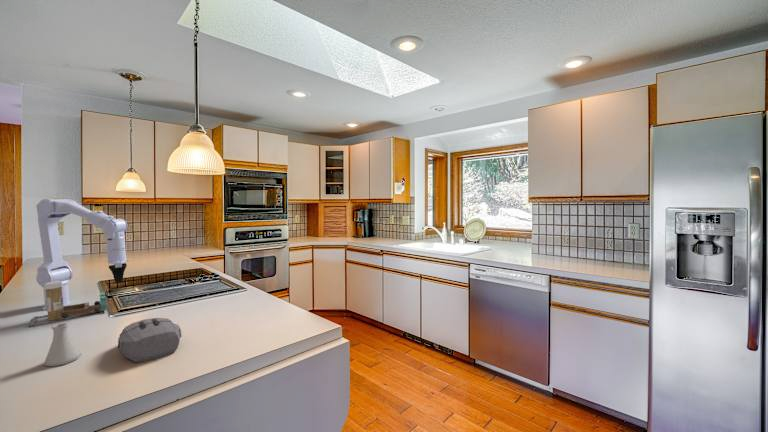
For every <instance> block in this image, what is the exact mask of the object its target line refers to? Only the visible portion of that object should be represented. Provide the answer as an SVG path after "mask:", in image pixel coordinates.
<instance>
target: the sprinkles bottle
mask: <svg viewBox="0 0 768 432" xmlns="http://www.w3.org/2000/svg"><path fill="white" fill-rule="evenodd" d="M45 289H46V302H47V310H46V311H47V315H48V317H47V320H49V321H55V320H61V319H62V318H61V317H60V312H64V310H63V308H64V306H63V297H62V282H61V281H56V282H49V283H46V284H45Z"/></svg>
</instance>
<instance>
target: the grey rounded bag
mask: <svg viewBox="0 0 768 432" xmlns="http://www.w3.org/2000/svg"><path fill="white" fill-rule="evenodd" d="M181 338H182V329H181V327H180V326H179V324H176V323H174V322H173V321H172V320H170V319H169V318H166V317H153V318H145V319H142V320H141V319H140V320H138V321H134V322H131V323H130V324H128V325H126V326H125V327H124V328H123V329H122V331H121V332H120V333H119V336H118V338H117V349H118V350H119V351H120V353H122V355H123V356H124V357H125V358H127V359H129V360H130V361H133V362H134V363H143V362H147V361H151V360H156V359H159V358H161V357H164V356H165V357H166V356H169V355H170V354H172V353H174V352H176V351H177V349H178V348H179V345H180V342H181Z"/></svg>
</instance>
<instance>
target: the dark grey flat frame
mask: <svg viewBox="0 0 768 432" xmlns="http://www.w3.org/2000/svg"><path fill="white" fill-rule="evenodd" d="M103 314H105V311H100V312H94V313H89V314H83V315H78V316H72V317H67V318H60V319H57V320H49V321H45V322H40V323H36V322H37V320H38V319H42V318H44V319H45V318H48V314H47V315H45V314H44V315H40V316H38V315H37V316H36V315H35V316H33V317H32V318H31V319H32V320H31V321H30V323H29V328H33V327H34V328H35V327H38V326H44V325H48V324H53V323H60V322H61V323H62V322H65V321H70V320H76V319H81V318H86V317H92V316H98V315H103Z"/></svg>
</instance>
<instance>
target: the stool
mask: <svg viewBox="0 0 768 432" xmlns="http://www.w3.org/2000/svg"><path fill="white" fill-rule="evenodd" d="M63 310H64V312H60V317H61V318H60V319H66V318H72V317H77V316H83V315H88V314H93V313H99V312H101V311H104V312H105V311H107V301H106V292H100V293H99V301H98V300H97V301H95V302H94V303H93V304H92V305H90V302H82V303H76V304H70V306H64V308H63Z"/></svg>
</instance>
